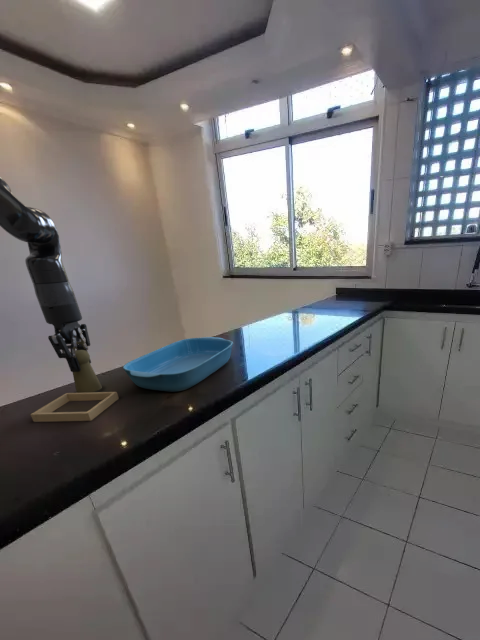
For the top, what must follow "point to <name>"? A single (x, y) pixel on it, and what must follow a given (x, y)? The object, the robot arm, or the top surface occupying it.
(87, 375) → the olive knobbed cone
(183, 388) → the casserole dish
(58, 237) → the robot arm
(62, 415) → the wooden frame
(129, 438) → the top surface
